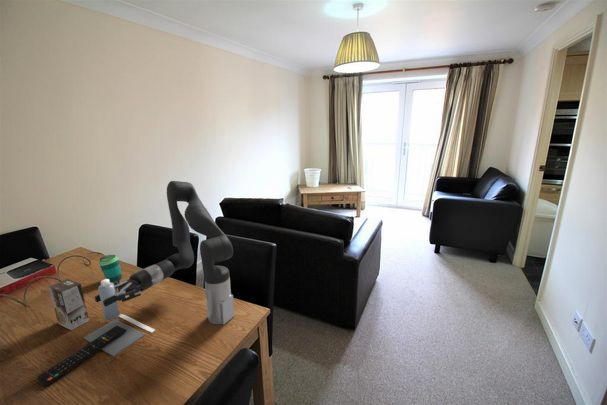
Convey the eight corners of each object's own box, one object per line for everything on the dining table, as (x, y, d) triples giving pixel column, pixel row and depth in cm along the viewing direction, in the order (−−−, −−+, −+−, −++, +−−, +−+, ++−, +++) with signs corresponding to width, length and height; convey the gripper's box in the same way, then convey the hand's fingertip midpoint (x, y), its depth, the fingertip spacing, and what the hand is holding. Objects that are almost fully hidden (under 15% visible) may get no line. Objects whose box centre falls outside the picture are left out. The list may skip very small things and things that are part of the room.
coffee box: (90, 320, 108) (81, 283, 104) (71, 331, 103) (61, 292, 98) (76, 314, 112) (68, 278, 108) (57, 323, 106) (47, 286, 102)
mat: (145, 335, 101) (145, 334, 100) (113, 356, 91) (113, 355, 91) (115, 320, 108) (115, 319, 108) (83, 338, 99) (83, 337, 99)
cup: (115, 284, 133) (110, 261, 130) (98, 284, 133) (93, 261, 130) (125, 275, 141) (121, 254, 138) (109, 275, 141) (105, 253, 138)
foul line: (155, 330, 103) (155, 329, 103) (151, 333, 102) (151, 332, 102) (122, 314, 112) (122, 313, 112) (118, 316, 110) (118, 316, 110)
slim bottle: (122, 314, 99) (115, 279, 96) (109, 321, 96) (101, 285, 92) (114, 310, 101) (107, 276, 97) (101, 317, 97) (94, 282, 94)
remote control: (126, 332, 101) (126, 329, 101) (46, 388, 80) (45, 384, 79) (117, 328, 103) (116, 325, 103) (36, 382, 82) (35, 378, 82)
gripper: (134, 265, 111) (85, 286, 96) (158, 273, 105) (110, 298, 90) (137, 281, 113) (90, 305, 98) (160, 291, 107) (114, 317, 92)
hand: (100, 301), depth 94 cm, fingers closed on slim bottle, 4 cm apart
